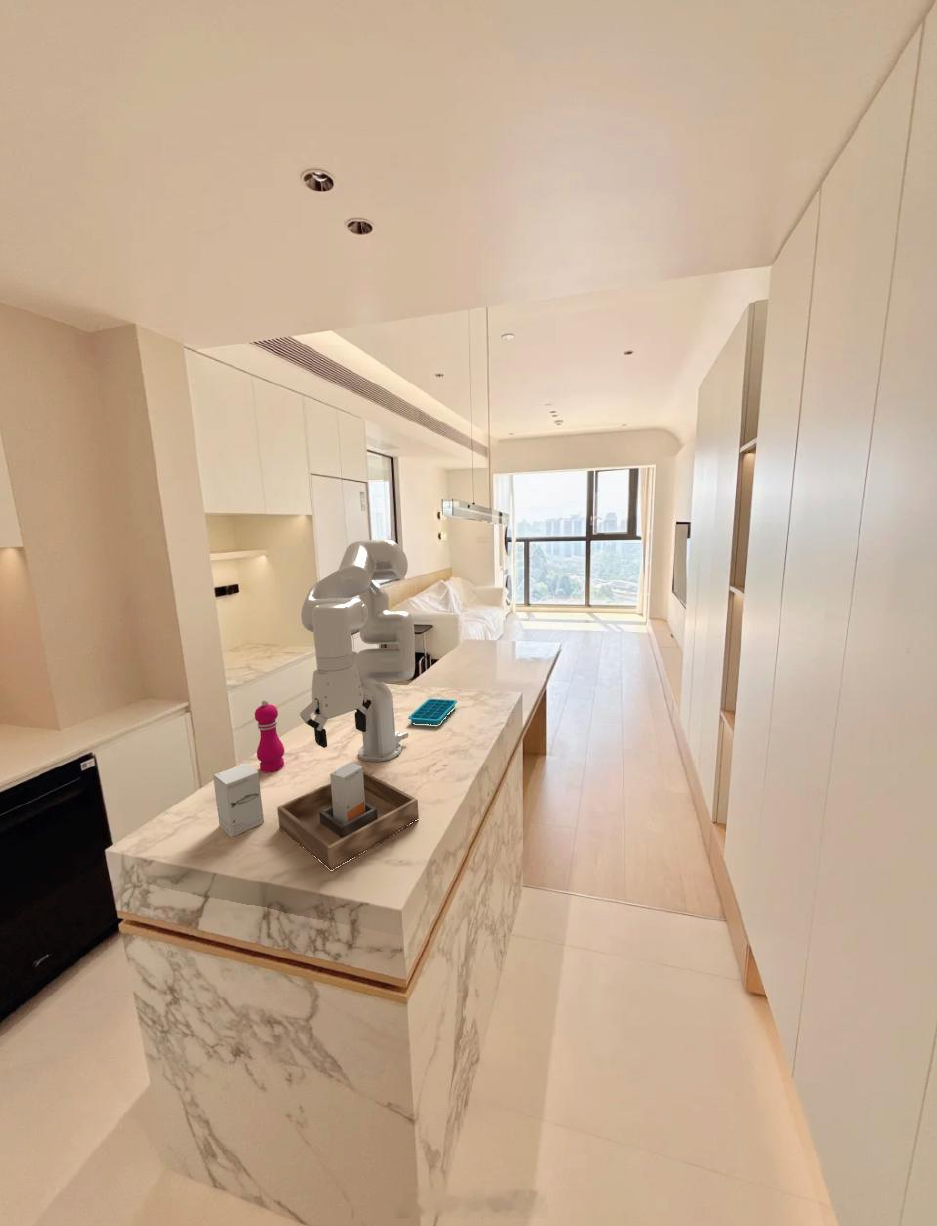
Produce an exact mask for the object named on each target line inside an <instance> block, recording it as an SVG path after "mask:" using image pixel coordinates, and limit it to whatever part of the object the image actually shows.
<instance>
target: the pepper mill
mask: <svg viewBox="0 0 937 1226" xmlns="http://www.w3.org/2000/svg"><path fill="white" fill-rule="evenodd" d="M278 711H279V710H278V708H277V707H276V706H275V705H274V704H270V703H269V700H268V699H263V700H261V705H260V706H258V707H257V709H255V712H254V719H255V721H256V722H257V729H258V730H259V732H260V739H259V743H258V746H257V750H256V757H257V760H259V765H260V766H259V767H260V768H259V769H260V771H261V772H262V773H263V772H264V773H274V772H276V771H278V770H281V769H282V768H283V767H284V765H285V759H284V756H285V746H284V744H283V742H282V741H281V739H280V737H279V736H278V732H277V726H278V721H277V717H278V715H279V712H278Z"/></svg>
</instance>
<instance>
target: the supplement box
mask: <svg viewBox="0 0 937 1226" xmlns="http://www.w3.org/2000/svg"><path fill="white" fill-rule="evenodd" d="M259 774H260V773H259V771H258V770H256V769H255V768H253V767H252V766H250V765H249V764H248V763H246V762H245V763H242V764H240V765H236V766H234V767H231V768H228V769H226V770H225V769H224V770H223V771H220V772H218V773H214V774H213V775H212V778H213V785H214V792H215V801H216V808H217V817H218V824H219V825H218V826H220V827H221V829H222V830H223V831H225V833H227V835H228V836H230V838H234V837H235V836H237V835H239V834H242V833H243V832H247V831H249V830H250V829H253V828H254V827H257V826H259V825H261V824H262V825H263V824H264V822H265V817H264V811H263V802H262V801H263V800H262V795H261V794H262V792H261V791H262V790H261V784H260V775H259ZM233 836H234V837H233Z"/></svg>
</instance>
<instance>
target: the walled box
mask: <svg viewBox="0 0 937 1226" xmlns="http://www.w3.org/2000/svg"><path fill="white" fill-rule="evenodd" d="M363 780H364V794H365V809H366V812H365V813H364V814H362V815H360V816H358V817H356V818H354V819H352V820H350V821H348V822H346V823H345V824H341V823H340V822H338V821H337V820H335V819H334V816H333V803H332V791H331V782H330V783H328V784H326V785H323V786H322V787H319V788H317V789H314V790H311V791H310V792H308V793H306V794H303V795H301V796H299V797H296V798H295V799H292V800H290V801H287V802H286V803H282V804H281V805H279V806H276V809H277V816H278V817H277V818H278V825H279V826H278V827H279V829H280V830H281V831H283V832H284V833H285V834H286V835H287V836H289V837H290V838H291V839H292V840H293V841H295V842H296V843H297V844H298V843H299V844H300V845H301V846H302V847H301V846H300V845H299V844H298V845H299V846H300V847H301V848H303V847H304V848H305V849H306V850H307V851H308V852H307V851H306V850H305V849H304V848H303V849H304V850H305V851H306V852H307V853H309V852H310V853H311V854H312V855H313V856H315V857H316V858H317V859H319V860H320V861H321V862H322V863H323V864H324V865H326V866H327V867H328V868H329V869H330V870H333V869H335V868H336V867H338V866H340V865H342V864H343V863H345V862H347V861H349V860H350V859H352V858H354V857H356V856H358V855H359V854H361V853H363V852H364V851H366V850H368V849H370V848H371V849H373V848H374V847H373V846H375V845H376V844H378V843H380V844H381V843H382V842H383V843H384V842H385V841H386V840H388V839H390V838H391V837H393V836H394V835H393V834H395V833H396V832H398V831H399V830H401V829H402V828H404V827H406V826H407V825H409V824H410V823H412V822H414V821H415V820H417V819H419V820H420V818H419V803H418V801H419V800H418V799H417V798H416V797H414V796H412V795H410V794H408V793H406V792H405V791H403V790H401V789H399V788H397V787H395V786H393V785H391V784H389V783H387V782H385V781H384V780H382V779H380V778H378V777H377V776H374V775H372V774H370V773H368V772H367V771H365V770H363ZM406 828H407V827H406ZM401 831H402V830H401ZM398 833H399V832H398ZM396 834H397V833H396ZM396 834H395V835H396ZM392 835H393V836H392ZM390 836H391V837H390ZM389 837H390V838H389ZM387 838H388V839H387ZM385 839H386V840H385ZM384 840H385V841H384ZM378 845H379V844H378ZM376 846H377V845H376ZM376 846H375V847H376ZM372 847H373V848H372ZM371 849H370V850H371ZM368 851H369V850H368ZM366 852H367V851H366ZM310 853H309V854H310ZM311 854H310V855H311ZM363 854H364V853H363ZM312 855H311V856H312ZM361 855H362V854H361ZM313 856H312V857H313ZM358 857H359V856H358ZM316 858H315V859H316ZM356 858H357V857H356ZM317 859H316V860H317ZM323 864H322V865H323ZM324 865H323V866H324ZM330 870H329V871H330Z"/></svg>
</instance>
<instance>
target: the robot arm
mask: <svg viewBox="0 0 937 1226" xmlns="http://www.w3.org/2000/svg"><path fill="white" fill-rule="evenodd" d="M408 566H409V565H408V558H407V556H406V554H405V552H404V551H403V549H402V548H401V546H400V545H399V544H398V543H397V542H395V541H393V540H391V539H373V540H371V539H370V540H369V539H367V540H366V539H365V540H358V541H357V540H356V541H354V542H352V543H350V544H349V545H348V546H347V548H346V550H345V552H344V554H343V557H342V560H341V562H340V564H339V568H338V570H336V571H334V572H332V573H330V574H329V575H327V576H325V577H324V578H321V580H319V581H317V582H316V583H314V585H312V586H311V588H310V589H309V591H308V593H307V595H306V597H305V599H304V602H303V605H302V609H301V615H300V616H301V617H300V618H301V623H302V625H303V626H304V628H305V629H306V630H307V631H309V632H312V633H313V641H314V643H313V644H314V652H315V661H316V669H315V670H314V671H313V673H312V680H311V703H309V704H308V705H307V706H306V707H305V708H304V709H303V710H301V712H299V716H300V717H301V718H302V720H303V721H304V723H305V724H307V726H310V727H311V728H313V730H314V731H313V732H314V741H315V743H316V745H318V746H320V747H322V748H323V749H324V748H327V747H328V739H327V731H326V729H325V728H324V727H325V725H326V723H327V722H328V720H329V719H333V718H335V717H340V716H341V715H342V716H343V715H344V714H347V713H350V712H354V711H355V712H354V713H353V714H354V723H355V724H354V725H355V730H357V731H360V732H361V734H362V746H361V747H360V748H359V749H358V755H357V756H358V758H359V759H361V760H363V761H364V762H369V763H381V762H386V761H389V760H392V759H394V758H396V757H398V756H399V755H400V754H401V752H402V745H401V744H400V742H401V741H402V740H404V739H407V738H409V732H408V731H404V732H401V733H400V732H399V731H396V728H395V727H396V726H395V714H394V713H395V712H394V701H393V700H394V698H393V693H392V691H391V689H390V688H389V686H388V685H387V684H386V683H385V682H401V681H402V682H403V681H409V680H411V679H413V677H414V675H415V670H416V652H415V651H416V648H415V647H416V646H415V645H416V644H415V643H416V642H415V641H416V639H415V623H414V619H413V617H412V614H411V613H409V612H407V611H401V610H398V611H397V610H396V611H395V610H394V611H390V603H389V602H390V601H389V599H390V597H389V595H388V593H387V591H386V590H385V589H384V587H383V586H382V585H381V584H380V583H379V582H378V580H379V581H381V580H383V581H384V580H386V581H387V580H400V579H404V577H405V576H406V575H407V573H408V569H409V567H408ZM356 596H357V597H356ZM358 631H359V637H360V640H361V641H362V643H363V644H367V645H394V644H395V645H398V647H379V648H366V649H362V650H360V651H358V652H357V651H353V644H352V642H353V641H352V634H351V633H354V632H358ZM312 713H313V715H315V717H314V719H313V718H312ZM399 753H400V754H399ZM397 755H398V756H397Z"/></svg>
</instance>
